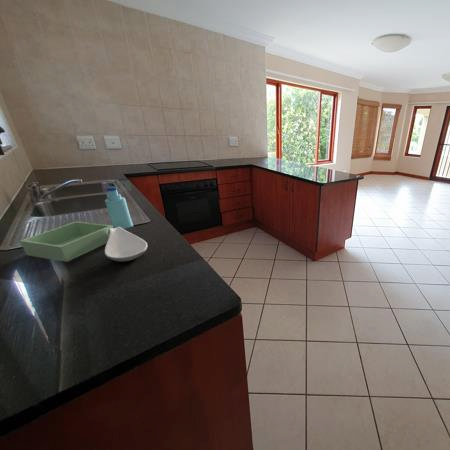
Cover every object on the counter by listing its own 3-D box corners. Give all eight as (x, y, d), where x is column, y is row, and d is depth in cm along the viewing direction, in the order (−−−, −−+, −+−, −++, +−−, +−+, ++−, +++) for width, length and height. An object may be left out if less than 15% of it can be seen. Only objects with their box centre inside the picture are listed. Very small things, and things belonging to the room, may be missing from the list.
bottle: (110, 229, 101) (96, 188, 94) (124, 223, 107) (112, 184, 100) (123, 231, 100) (110, 189, 93) (136, 225, 106) (125, 185, 99)
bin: (27, 256, 81) (19, 240, 78) (81, 235, 96) (76, 221, 94) (67, 263, 77) (60, 246, 75) (117, 239, 93) (112, 225, 90)
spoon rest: (154, 257, 82) (150, 238, 79) (113, 271, 73) (106, 251, 71) (132, 235, 96) (127, 219, 93) (96, 245, 88) (89, 228, 85)
